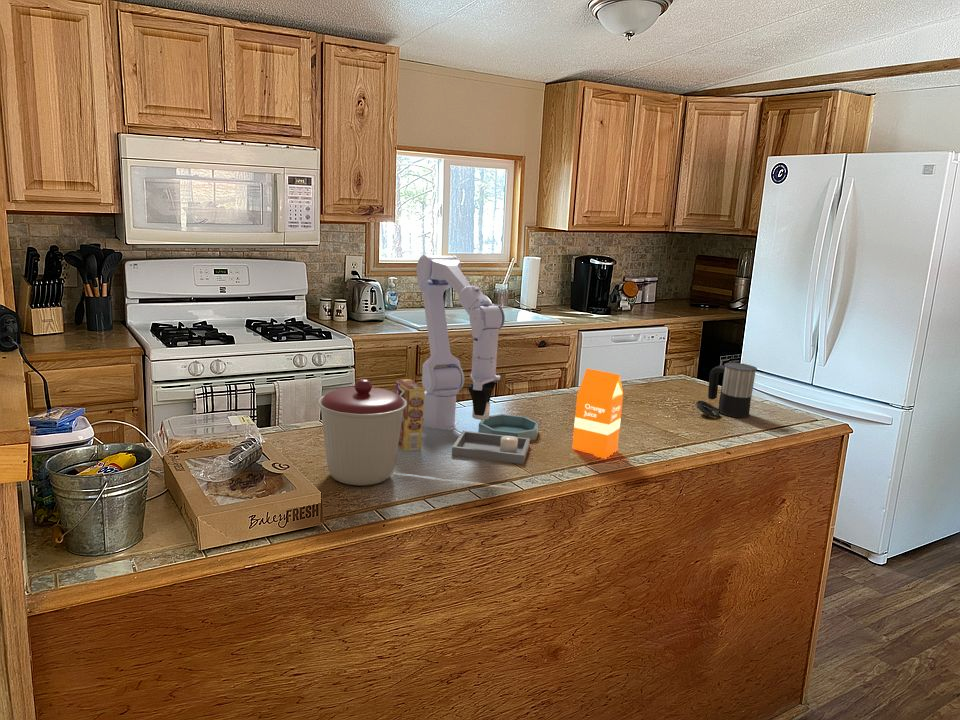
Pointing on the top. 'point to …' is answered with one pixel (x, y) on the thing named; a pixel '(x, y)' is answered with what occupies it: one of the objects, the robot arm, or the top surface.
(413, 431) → the candy box
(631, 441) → the top surface
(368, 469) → the canister
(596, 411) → the orange juice
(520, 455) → the tray
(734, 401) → the milk frother
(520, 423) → the bowl
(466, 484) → the top surface
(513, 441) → the pebble
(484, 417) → the pebble
